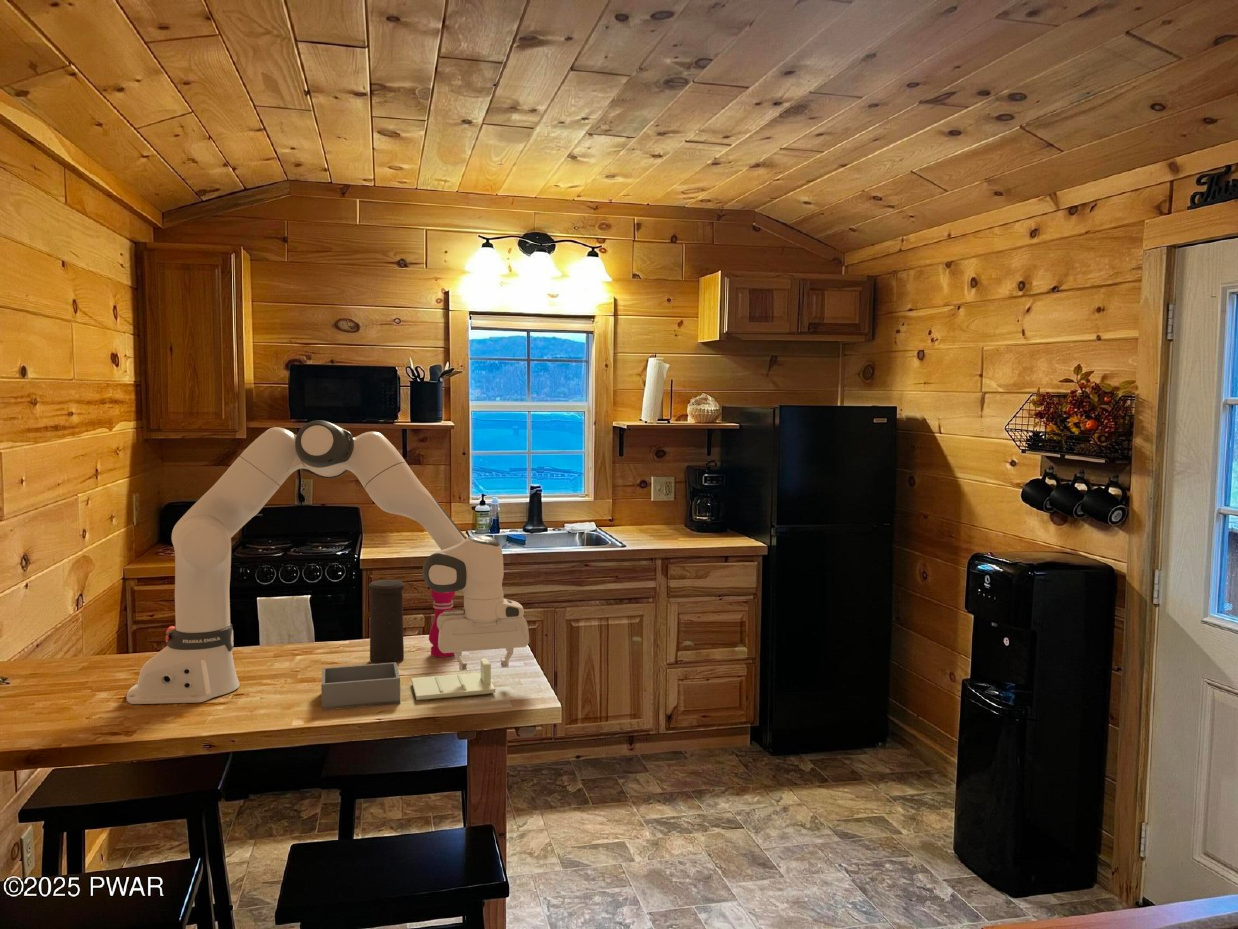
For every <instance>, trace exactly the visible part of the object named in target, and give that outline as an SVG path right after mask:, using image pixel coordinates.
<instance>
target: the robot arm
mask: <svg viewBox="0 0 1238 929" xmlns="http://www.w3.org/2000/svg"><path fill="white" fill-rule="evenodd" d="M297 470H301V471H302V472H305V473H308V474H311V475H314V476H317V477H319V478H323V479H336V478H339V477H342V476H343V475H345V474H346V473H347V472H351V473H352V474H353V475H355V477H356V478H357V479H358V481H359V482H360V484H361V485H362V487H363V489H364V490H365V492H366V493H367V495H368V496H369V498H370V499H371V500H372V502H374V504H375V505H376V506H377V507H378V508H380V509H381V510H382V511H383V512H386V513H389V514H392V515H397V516H401V517H406V518H408V519H411V520H413V521H415V522H416V523H418V524H420V525H421V527H423V528H424V530H425V531H426V533H427V534H428V535H429V536H430V537H431V538H432V540H433V541H434V542H435V544H436V545H437V546H438V548H439V549H440V550H438V551H436V552H434V553H432V554H430V555H429V556H428V557H427V558H426V559H425V561H424V563H423V566H422V578H423V579H424V583H425V584H426V585H427V587H429V589H430V590H431V589H432V590H433V591H435V592H439V593H448V592H454V591H455V592H458V591H461V592H462V593H463V609H454V610H453V609H452V610H451V611H450V610H447V611H444V612H443V613H441V614H440V615H439V616H438V618H437V627H438V629H439V638H438V647H439V649H440V651H441V652H442V653H451V652H454V655H453V656H454V658H455V659H456V660H457V662H458V669H459V672H465V671H467V669H468V668H467V665H468V663H467V661H464V660H462V659H461V657H462V653H463V652H478V651H490V650H502V649H503V650H504V649H505V651H506V654H505V656H504V657H502V658H500V662H501V663H500V667H501V668H502V669H504V668H505V669H506V668H509V664H510V663H509V661H510V659H511V657H512V656H513V654H514V649H517V648H526V647H527V646H528V645H529V644H530V632H529V626H528V622H527V619H526V618H525V617H524V615H525V610H524V607H523V605H522V604H521V603H519V602H517V601H515V600H512V599H508V598H505V597H504V596H505V595H504V590H503V579H504V574H505V573H504V555H503V550H502V546H501V543H500V542H499V541H498V540H497V539H496V538H495V537H494V538H493V537H491V536H487V535H469V536H468V537H467V536H466V535H465V534H464V533H463V531H461V529H460V528H459V526H458V525H457V524H456V523H455V522H454V520H453V519H452V518H451V517H450V515H449V514H448V513H447V511H446V509H445V508H444V507H443V506H442V505H441V504H440V503H439V502H438V500H437V499H436V498H435V497H434V496H433V495H432V493H431V492H430V491H428V489H427V488H426V487H425V486H424V485H423V484H422V482H421V481H420V480H419V479H418V477H417V476H416V474H415V473H414V472H413V470H412V469H411V467H410V466H409V465H408V463H407V462H406V459H404V457H403V456H402V454H400V452H399V451H398V450H397V448H396V447H395V446H394V445H393V444H392V443H391V442H390V440H389V439H387V437H386V436H384V435H383V434H382V433H381V432H378V431H367V432H363V433H361V434H359V435H356V436H354V437H353V434H352V433H351V432H350V431H349V430H347V429H344V428H342V427H340V426H339V425H336V424H335V423H332V422H329V421H326V420H312V421H310V422H307V423H306V424H304V425H303V426H302V427H300V429H299V430H298V432H297V434H295V433H294V432H292V431H290V430H289V429H286V428H283V427H281V426H280V427H275V426H274V427H271V428H269V429H267V430H265V431H264V432H263V433H261V434H260V435H259V436H258V437H257V438H255V439H254V440H253V441H252V442H251V443H250V444H249V445H248V446H247V447H246V448H245V449H244V450H243V451H242V452H241V454H240V455H239V456H238V457H237V458H236V459H235V460H234V462H233V463H232V464H231V465H230V466H229V467H228V468H227V470H226V471H225V472H224V473H223V474H222V475H221V477H220V478H219V479H218V480H217V481H216V482H215V483H214V484H213V485H212V486H211V487H210V488H209V489H208V490H207V491H206V492H205V493H204V494H203V495H202V496H201V497H200V498H199V499H198V500H197V501H196V502H195V503H194V504H193V505H192V506H191V507H190V508H189V509H188V510H187V511H186V512H185V513H184V514H183V515H182V517H180V519H179V520H178V521H177V522H176V523H175V525H174V526H173V529H172V532H171V543H172V545H173V549H174V550H173V551H174V561H175V564H174V570H175V571H174V572H175V573H174V574H175V575H174V580H175V581H174V610H175V611H174V614H175V626H174V625H171V626H169V627H168V628H166V629H167V630H166V631H165V645H166V646H165V647H163V649H161V650H160V651H159V652H157V653H156V654H155V655H154V656H152V657H151V658H150V659H148V660H147V661H146V663H144V664H143V665H142V667H141V669H140V671H139V675H138V680H137V683H136V684H134V685H132V687H131V686H130V688H129V690H128V691H127V692H126V693H127V694H126V702H127V703H128V704H130V705H143V704H145V705H146V704H147V705H148V704H150V705H153V704H187V703H190V704H191V703H192V704H193V703H204V702H206V701H209V700H211V699H214V698H217V697H221V696H223V695H226V694H229V693H231V692H233V691H236V690H237V689H238V688H239V687H240V685H241V684H240V680H239V678H238V675H237V671H236V666H235V661H234V657H233V648H234V629H233V624H232V623H231V606H230V605H231V602H230V601H231V599H230V584H231V583H230V582H231V571H232V568H231V566H232V538H233V537H234V536H235V535H236V534H237V533H238V532H239V531H240V530H241V529H242V528H243V527H244V526H245V525H246V524H247V523H248V522H249V521H251V520H252V518H253V517H255V516H256V515H257V514H259V512H260V511H261V510H262V509H263V508H264V506H265V505H266V504H267V503H268V501H269V500H270V499H271V498H272V497H273V495H274V494H276V493H277V491H278V490H279V489H280V487H281V486H282V485H283V484H284V482H285V481H286V480H287V479H288V477H291V474H293V473H294V472H295V471H297ZM443 614H444V615H443ZM441 615H442V616H441Z"/></svg>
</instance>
